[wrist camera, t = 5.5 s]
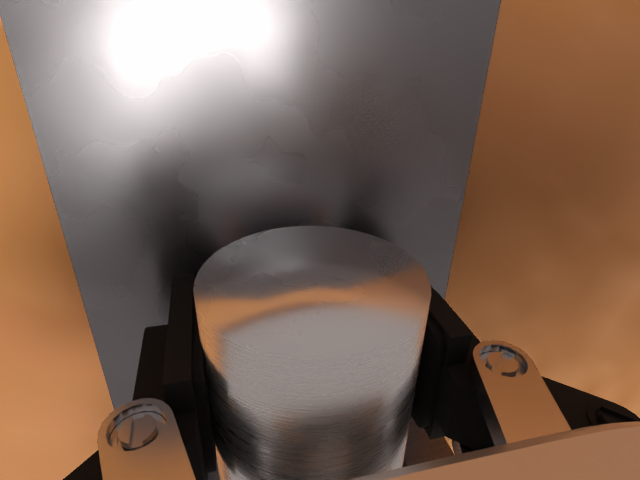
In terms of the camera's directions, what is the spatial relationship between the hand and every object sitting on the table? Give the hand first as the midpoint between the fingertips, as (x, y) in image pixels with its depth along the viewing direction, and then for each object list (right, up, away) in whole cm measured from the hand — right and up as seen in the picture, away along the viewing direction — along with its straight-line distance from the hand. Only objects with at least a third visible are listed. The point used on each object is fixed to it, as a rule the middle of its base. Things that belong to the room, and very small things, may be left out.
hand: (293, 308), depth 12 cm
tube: (0, -6, +3) cm, 7 cm away
